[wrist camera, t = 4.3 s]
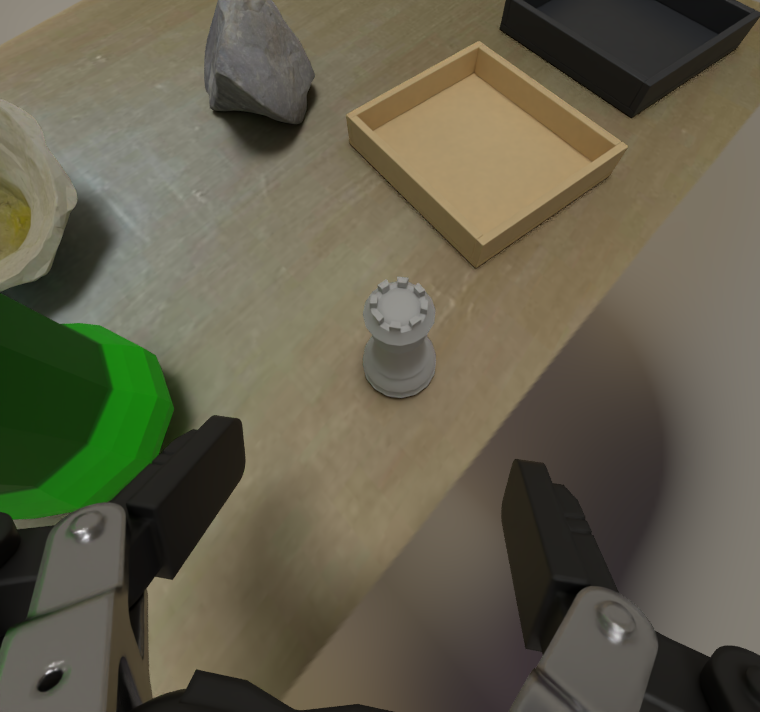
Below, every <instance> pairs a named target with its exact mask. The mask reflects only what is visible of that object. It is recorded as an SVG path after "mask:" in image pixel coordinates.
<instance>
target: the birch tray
mask: <svg viewBox="0 0 760 712" xmlns="http://www.w3.org/2000/svg"><path fill="white" fill-rule="evenodd" d="M346 119H347V126H348V133H349V141H350V144H351V145H352V146H353V147H354V148H355V149H356V150H357V151H358V152H359V153H360V154H361V155H362V156H363V157H364V158H365V159H366V160H367V161H368V162H369V163H370V164H371V165H372V166H373V167H374V168H375V169H376V170H377V171H378V172H379V173H380V174H381V175H382V176H383V177H384V178H385V179H386V180H387V181H388V182H389V183H390V184H391V185H392V186H393V187H394V188H395V189H396V190H397V191H398V192H399V193H400V194H401V195H402V196H403V197H404V198H405V199H406V200H407V201H408V202H409V203H410V204H411V205H412V206H413V207H414V208H415V209H416V210H417V211H418V212H419V213H420V214H421V215H422V216H423V217H424V218H425V219H426V220H428V221H429V222H430V223H431V224H432V225H433V226H434V227H435V228H436V229H437V230H438V231H439V232H440V233H441V234H442V235H443V236H444V237H445V238H446V239H447V240H448V241H449V242H450V243H451V244H452V245H453V246H454V247H455V248H456V249H457V250H458V251H459V252H460V253H461V254H462V255H463V256H464V257H465V258H466V259H467V260H468V261H469V262H470V263H471V264H472V265H473V266H474V267H475V268H477V267H478V266H480V265H481V264H483V263H484V262H486V261H487V260H489V259H490V258H491V257H493V256H494V255H496V254H497V253H499V252H500V251H502V250H503V249H504V248H506V247H507V246H509V245H510V244H512V243H513V242H514V241H516V240H517V239H519V238H520V237H522V236H523V235H525V234H526V233H527V232H529V231H530V230H532V229H533V228H535V227H536V226H538V225H539V224H540V223H542V222H543V221H545V220H546V219H548V218H549V217H551V216H552V215H553V214H555V213H556V212H558V211H559V210H561V209H562V208H564V207H565V206H566V205H568V204H569V203H571V202H572V201H574V200H575V199H577V198H578V197H579V196H581V195H582V194H584V193H585V192H587V191H588V190H590V189H591V188H592V187H594V186H595V185H597V184H598V183H600V182H601V181H603V180H604V179H605V178H607V177H608V176H610V175H611V173H612V171H613V170H614V168H615V167H616V165H617V164H618V162H619V161H620V159H621V157H622V156H623V154H624V153H625V151H626V150H627V148H628V146H627V145H626V144H624V143H623V142H621V141H620V140H618V139H617V138H616V137H614V136H613V135H611V134H610V133H609V132H607V131H606V130H604V129H603V128H602V127H600V126H599V125H597V124H596V123H594V122H593V121H592V120H590V119H589V118H587V117H586V116H585V115H583V114H582V113H580V112H579V111H577V110H576V109H575V108H573V107H572V106H570V105H569V104H568V103H566V102H565V101H563V100H562V99H560V98H559V97H558V96H556V95H555V94H553V93H552V92H551V91H549V90H548V89H546V88H545V87H543V86H542V85H541V84H539V83H538V82H536V81H535V80H534V79H532V78H531V77H529V76H528V75H527V74H525V73H524V72H522V71H521V70H519V69H518V68H517V67H515V66H514V65H512V64H511V63H510V62H508V61H507V60H505V59H504V58H502V57H501V56H500V55H498V54H497V53H495V52H494V51H493V50H491V49H490V48H488V47H487V46H485V45H483V43H481V42H480V41H478V42H476V43H474V44H472V45H471V46H469V47H467V48H465V49H463V50H462V51H460V52H458V53H456V54H454V55H453V56H451V57H449V58H447V59H445V60H443V61H442V62H440V63H438V64H436V65H434V66H433V67H431V68H429V69H427V70H425V71H424V72H422V73H420V74H418V75H416V76H415V77H413V78H411V79H409V80H407V81H406V82H404V83H402V84H400V85H398V86H397V87H395V88H393V89H391V90H389V91H388V92H386V93H384V94H382V95H380V96H379V97H377V98H375V99H373V100H371V101H370V102H368V103H366V104H364V105H362V106H360V107H359V108H357V109H355V110H353V111H351V112H350V113H348V114H346Z"/></svg>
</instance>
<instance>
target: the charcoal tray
mask: <svg viewBox="0 0 760 712" xmlns="http://www.w3.org/2000/svg"><path fill="white" fill-rule="evenodd" d="M759 17H760V12H758V11H755V10H754V9H752V8H750V7H748V6H746V5H744V4H742V3H740V2H738V1H736V0H506V2H505V7H504V11H503V16H502V21H501V25H500V29H501V30H502V31H504V32H505V33H507V34H508V35H510V36H511V37H513V38H514V39H515V40H517V41H518V42H520V43H521V44H523V45H524V46H526V47H527V48H529V49H530V50H532V51H533V52H535V53H536V54H538V55H539V56H541V57H542V58H544V59H545V60H547V61H548V62H550V63H551V64H553V65H554V66H556V67H557V68H558V69H560V70H561V71H563V72H564V73H566V74H567V75H569V76H570V77H572V78H573V79H575V80H576V81H578V82H579V83H581V84H582V85H584V86H585V87H587V88H588V89H590V90H591V91H593V92H594V93H596V94H597V95H599V96H600V97H602V98H603V99H604V100H606V101H607V102H609V103H610V104H612V105H613V106H615V107H616V108H618V109H619V110H621V111H622V112H624V113H625V114H627V115H628V116H630V117H631V118H632V117H633V116H635V115H636V114H638V113H639V112H641V111H642V110H644V109H645V108H647V107H648V106H650V105H651V104H653V103H654V102H656V101H658V100H659V99H661V98H662V97H664V96H665V95H667V94H668V93H670V92H671V91H673V90H674V89H676V88H677V87H679V86H680V85H682V84H683V83H685V82H686V81H688V80H689V79H691V78H692V77H694V76H695V75H697V74H698V73H700V72H701V71H703V70H704V69H706V68H707V67H709V66H710V65H712V64H713V63H715V62H716V61H718V60H719V59H721V58H722V57H724V56H725V55H727V54H728V53H730V52H731V51H733V50H734V49H736V48H737V47H738V46H739V44H740V43H741V41H742V40H743V39H744V38H745V36H746V35H747V34H748V32H749V31H750V29H751V28H752V27H753V25H754V24H755V23H756V21H757V20H758V19H759Z"/></svg>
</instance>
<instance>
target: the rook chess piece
mask: <svg viewBox="0 0 760 712" xmlns="http://www.w3.org/2000/svg"><path fill="white" fill-rule="evenodd" d="M363 317H364V321H365V325H366V327H367V329H368V330H369V331H370V332H371V334H372V337H371V338H370V340H369V341H368V343H367V344H366V346H365V350H364V355H363V367H364V371H365V375H366V378H367V380H368V381H369V382H370V384H371V385H372V386H373V388H374V389H376V390H377V391H379V392H381V393H383V394H384V395H386V396H391V397H398V398H403V397H407V396H412V395H416V394H417V393H418V392H420V391H421V390H423V389H424V388H425V387H427V386H428V384H429V382H430V381H431V379H432V377H433V375H434V373H435V364H436V354H435V351H434V348H433V344H432V342H431V340H430V339H429V338H428V337H427V333H428V332H429V330H430V329H431V327H432V325H433V324H434V319H435V307H434V304H433V301H432V298H431V297H430V296H429V295H428V294H427V293H426V292H425V289H424V288H423V287H422V286H421V285H420V284H419V283H417V284H416V285H414V284H412V283H409V282H408V278H405V277H397V281H396V282H392V283H388V281H387V279H386V280H385V281H383V282H381V283H380V284H378V288H377V289H376V290H374V291H373V292H372V293H371V295H370V296H369V298H368V299H367V300H366V302H365V306H364V311H363Z"/></svg>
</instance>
